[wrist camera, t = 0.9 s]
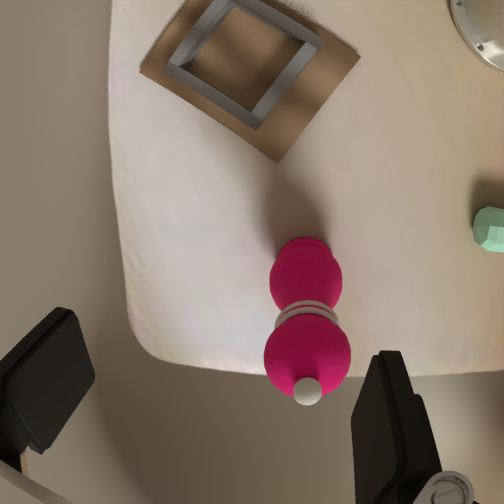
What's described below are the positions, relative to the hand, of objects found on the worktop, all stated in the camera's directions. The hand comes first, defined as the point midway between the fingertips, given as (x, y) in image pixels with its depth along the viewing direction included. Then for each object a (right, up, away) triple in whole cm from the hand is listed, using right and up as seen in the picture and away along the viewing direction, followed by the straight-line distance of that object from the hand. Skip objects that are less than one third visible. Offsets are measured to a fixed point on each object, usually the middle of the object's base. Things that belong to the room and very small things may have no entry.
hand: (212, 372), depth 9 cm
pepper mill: (+7, +2, +27) cm, 28 cm away
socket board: (+1, +23, +19) cm, 30 cm away
